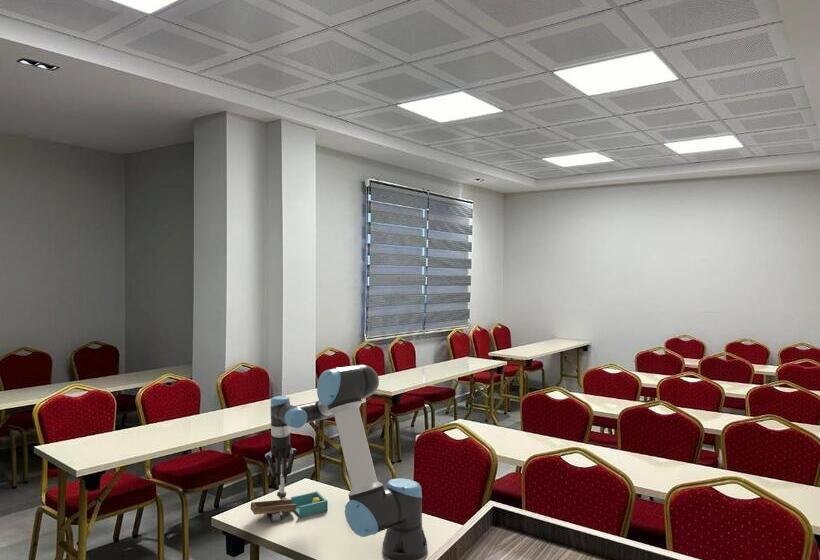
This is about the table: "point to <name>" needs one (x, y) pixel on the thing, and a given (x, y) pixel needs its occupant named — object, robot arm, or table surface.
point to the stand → (274, 517)
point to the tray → (309, 504)
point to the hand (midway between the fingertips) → (281, 492)
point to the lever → (273, 505)
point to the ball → (315, 500)
